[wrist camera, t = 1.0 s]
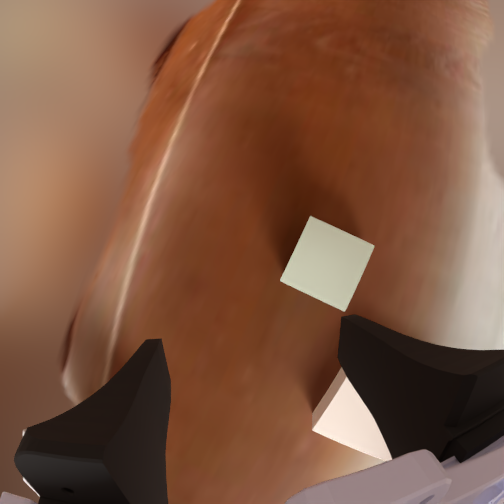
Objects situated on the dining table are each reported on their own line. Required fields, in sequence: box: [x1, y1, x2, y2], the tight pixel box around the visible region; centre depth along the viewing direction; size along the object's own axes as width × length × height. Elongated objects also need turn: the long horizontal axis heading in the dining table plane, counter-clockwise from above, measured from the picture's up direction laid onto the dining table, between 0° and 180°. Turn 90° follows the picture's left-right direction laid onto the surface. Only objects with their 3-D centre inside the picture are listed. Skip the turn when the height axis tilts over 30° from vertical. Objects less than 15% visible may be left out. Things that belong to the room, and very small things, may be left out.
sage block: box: [280, 216, 374, 312], centre depth 24 cm, size 5×5×5 cm
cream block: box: [312, 367, 392, 462], centre depth 23 cm, size 8×8×4 cm
